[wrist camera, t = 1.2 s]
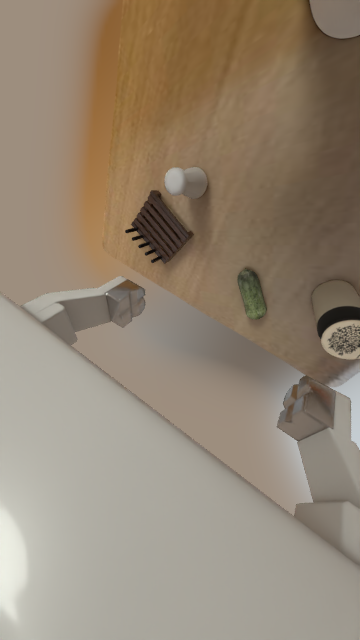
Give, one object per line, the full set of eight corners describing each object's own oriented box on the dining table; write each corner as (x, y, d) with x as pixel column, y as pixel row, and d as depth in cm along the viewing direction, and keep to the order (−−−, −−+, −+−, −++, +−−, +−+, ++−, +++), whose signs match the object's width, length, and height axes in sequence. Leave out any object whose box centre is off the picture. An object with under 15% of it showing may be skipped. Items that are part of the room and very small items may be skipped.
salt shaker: (186, 198, 48) (159, 200, 39) (186, 169, 45) (157, 162, 35) (209, 198, 46) (187, 200, 36) (211, 167, 43) (187, 160, 33)
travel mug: (303, 302, 49) (308, 345, 35) (327, 273, 44) (344, 310, 30) (336, 317, 47) (355, 368, 33) (364, 289, 42) (400, 336, 29)
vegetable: (269, 312, 54) (267, 321, 50) (249, 315, 56) (246, 324, 53) (256, 262, 49) (253, 268, 45) (236, 268, 52) (231, 274, 48)
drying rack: (158, 190, 50) (141, 190, 45) (193, 234, 52) (182, 239, 46) (137, 223, 57) (120, 226, 52) (169, 261, 59) (156, 268, 53)
